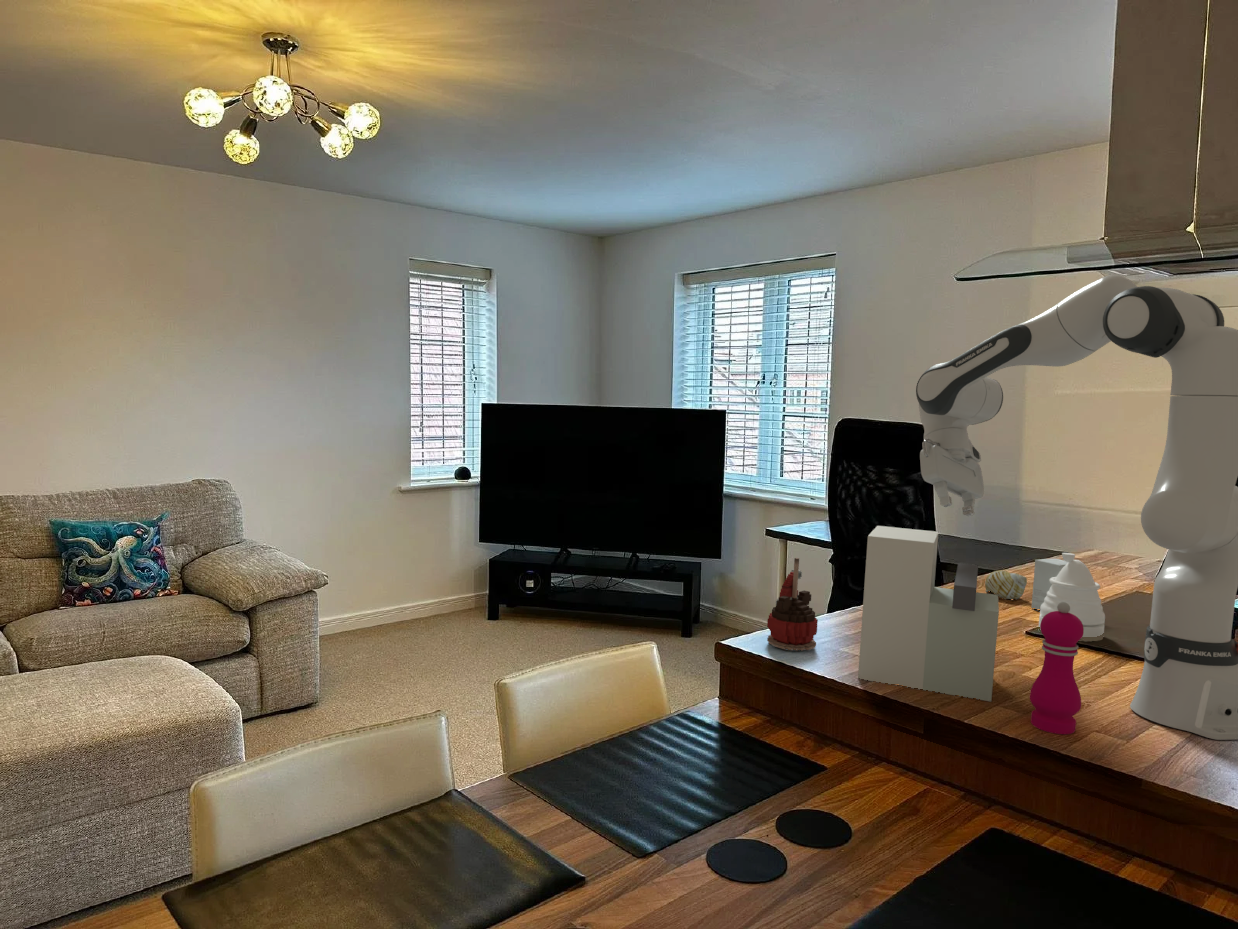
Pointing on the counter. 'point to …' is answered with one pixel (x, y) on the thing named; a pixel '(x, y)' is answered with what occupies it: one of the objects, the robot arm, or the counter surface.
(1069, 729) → the pepper mill
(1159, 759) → the counter surface
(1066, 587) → the honey pot
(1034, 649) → the counter surface
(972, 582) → the gray rectangular bar
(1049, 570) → the supplement box
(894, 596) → the step stand
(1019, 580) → the yarn ball
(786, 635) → the cake
